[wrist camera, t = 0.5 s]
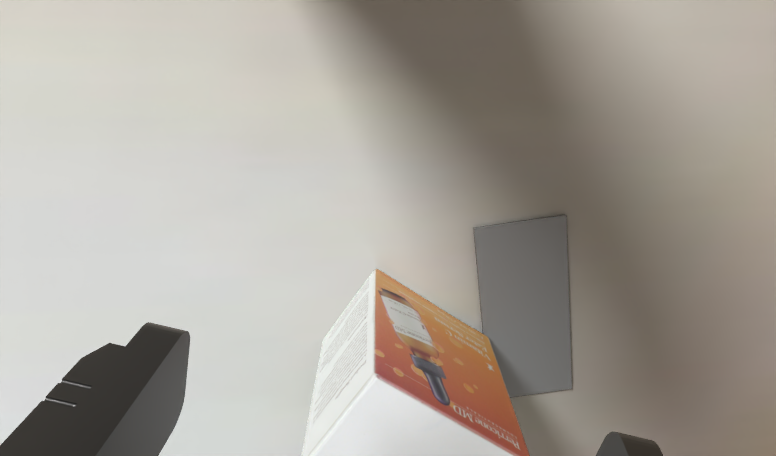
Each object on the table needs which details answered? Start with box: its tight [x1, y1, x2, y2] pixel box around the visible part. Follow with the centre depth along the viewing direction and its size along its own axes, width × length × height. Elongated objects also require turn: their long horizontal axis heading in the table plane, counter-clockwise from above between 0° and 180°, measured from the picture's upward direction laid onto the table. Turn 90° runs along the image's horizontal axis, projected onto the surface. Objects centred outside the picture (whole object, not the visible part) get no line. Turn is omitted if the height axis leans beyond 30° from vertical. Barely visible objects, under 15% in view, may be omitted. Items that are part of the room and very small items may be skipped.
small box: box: [301, 269, 530, 456], centre depth 28 cm, size 8×6×10 cm
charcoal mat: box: [474, 215, 572, 398], centre depth 33 cm, size 11×5×1 cm, turn 7°
